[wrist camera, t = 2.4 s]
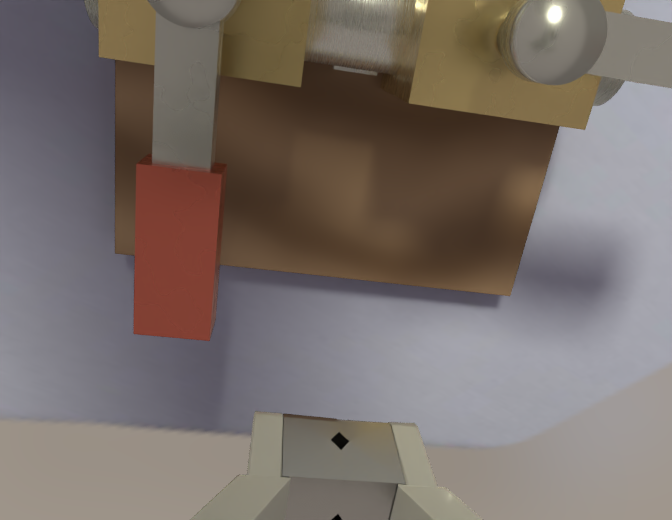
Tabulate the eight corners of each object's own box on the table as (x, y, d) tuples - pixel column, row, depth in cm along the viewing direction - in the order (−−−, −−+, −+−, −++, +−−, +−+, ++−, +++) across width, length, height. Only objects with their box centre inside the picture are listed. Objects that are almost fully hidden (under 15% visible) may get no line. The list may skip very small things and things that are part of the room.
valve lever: (151, -84, 16) (136, -97, 14) (248, -66, 16) (243, -77, 15) (142, 312, 20) (130, 333, 19) (217, 319, 21) (212, 341, 19)
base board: (126, -199, 23) (115, -215, 22) (609, -100, 26) (627, -108, 24) (123, 243, 30) (114, 253, 29) (501, 285, 33) (510, 296, 31)
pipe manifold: (115, -93, 23) (-15, -191, 13) (703, 14, 26) (942, -1, 17) (115, 48, 25) (2, 51, 15) (661, 131, 28) (852, 177, 19)
